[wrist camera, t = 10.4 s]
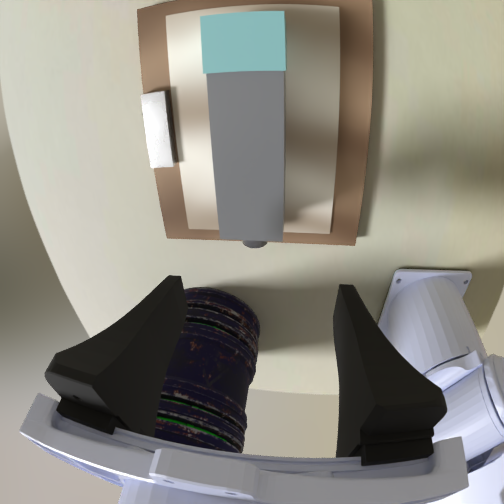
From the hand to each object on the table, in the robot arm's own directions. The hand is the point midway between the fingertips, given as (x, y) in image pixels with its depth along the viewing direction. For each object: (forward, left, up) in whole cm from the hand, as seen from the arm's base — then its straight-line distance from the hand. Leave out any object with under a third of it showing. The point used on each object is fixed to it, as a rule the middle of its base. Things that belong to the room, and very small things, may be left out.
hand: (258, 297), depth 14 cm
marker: (+6, +1, -8) cm, 10 cm away
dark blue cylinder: (-13, +6, -10) cm, 17 cm away
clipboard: (+6, +1, -9) cm, 11 cm away
